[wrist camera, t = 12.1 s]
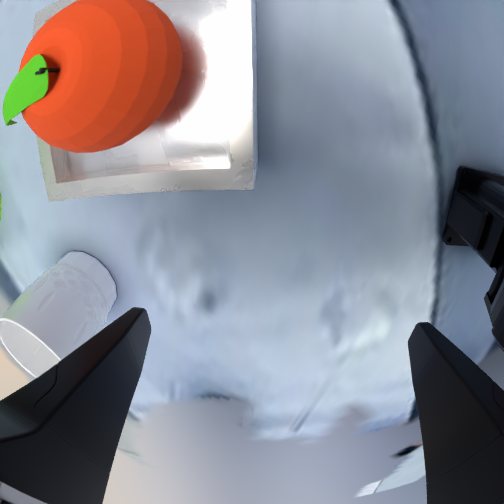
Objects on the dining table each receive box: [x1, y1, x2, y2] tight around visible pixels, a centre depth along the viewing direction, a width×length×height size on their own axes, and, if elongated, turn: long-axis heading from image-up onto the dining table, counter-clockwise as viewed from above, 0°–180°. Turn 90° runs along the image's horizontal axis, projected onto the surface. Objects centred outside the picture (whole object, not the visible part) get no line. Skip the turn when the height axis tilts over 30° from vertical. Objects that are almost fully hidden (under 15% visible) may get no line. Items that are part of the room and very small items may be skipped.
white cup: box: [0, 251, 117, 378], centre depth 19 cm, size 8×8×10 cm
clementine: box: [3, 0, 183, 153], centre depth 8 cm, size 8×7×7 cm
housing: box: [33, 0, 258, 201], centre depth 12 cm, size 12×12×6 cm
